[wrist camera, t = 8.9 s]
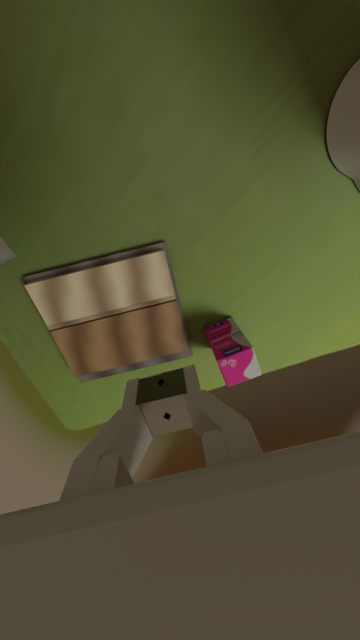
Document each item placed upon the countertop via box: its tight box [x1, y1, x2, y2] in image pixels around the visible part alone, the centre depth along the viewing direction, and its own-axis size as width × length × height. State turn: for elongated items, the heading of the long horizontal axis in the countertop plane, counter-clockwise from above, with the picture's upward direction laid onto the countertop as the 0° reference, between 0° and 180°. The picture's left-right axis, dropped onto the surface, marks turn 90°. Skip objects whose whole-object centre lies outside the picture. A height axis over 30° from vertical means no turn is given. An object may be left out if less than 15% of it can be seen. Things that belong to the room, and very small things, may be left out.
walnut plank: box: [50, 299, 189, 377], centre depth 39 cm, size 22×10×2 cm, turn 103°
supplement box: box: [204, 316, 262, 387], centre depth 38 cm, size 6×6×12 cm
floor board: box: [23, 241, 193, 382], centre depth 38 cm, size 23×22×3 cm
